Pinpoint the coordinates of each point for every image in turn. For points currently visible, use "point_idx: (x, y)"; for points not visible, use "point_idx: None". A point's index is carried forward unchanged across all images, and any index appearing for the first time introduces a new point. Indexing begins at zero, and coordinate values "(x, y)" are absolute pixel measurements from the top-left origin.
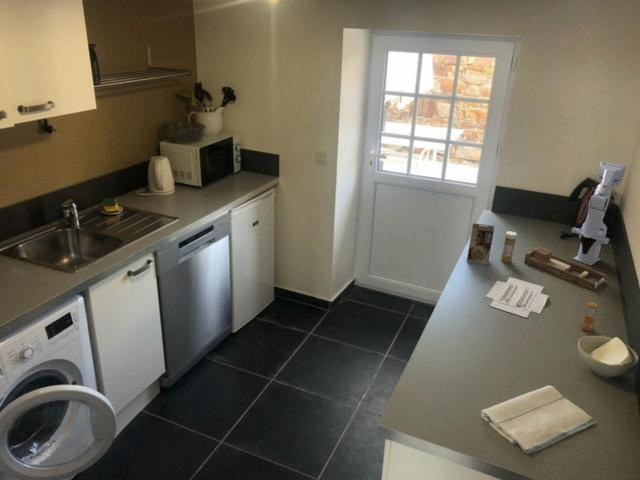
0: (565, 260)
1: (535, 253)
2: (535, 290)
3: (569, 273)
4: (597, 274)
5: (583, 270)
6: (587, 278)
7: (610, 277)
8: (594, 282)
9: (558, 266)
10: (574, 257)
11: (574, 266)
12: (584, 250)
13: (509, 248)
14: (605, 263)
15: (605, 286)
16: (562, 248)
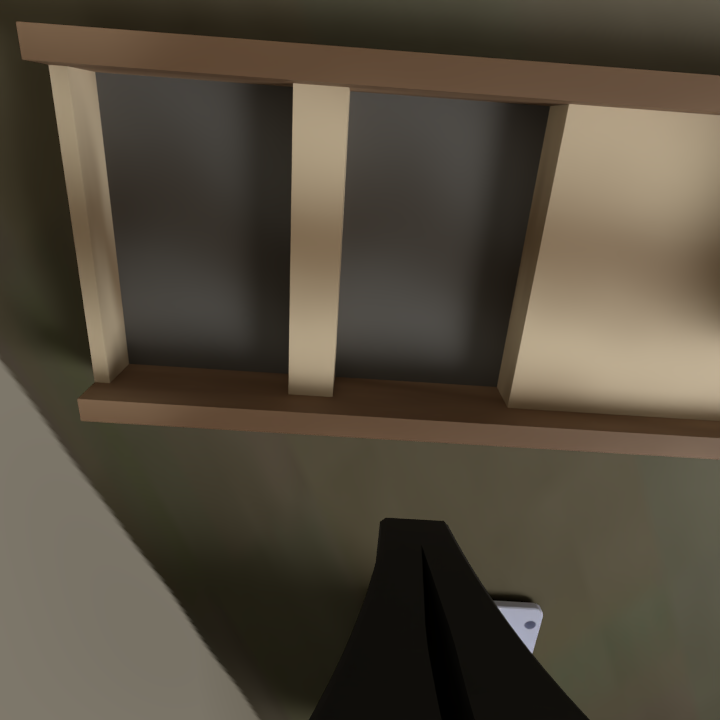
0: (608, 431)
1: None
2: None
3: (445, 56)
4: (184, 393)
5: (355, 395)
6: (265, 295)
7: (137, 507)
8: (31, 37)
9: (642, 253)
10: (538, 628)
11: (470, 405)
12: (428, 578)
13: None
14: (296, 701)
15: (53, 278)
16: (671, 713)
